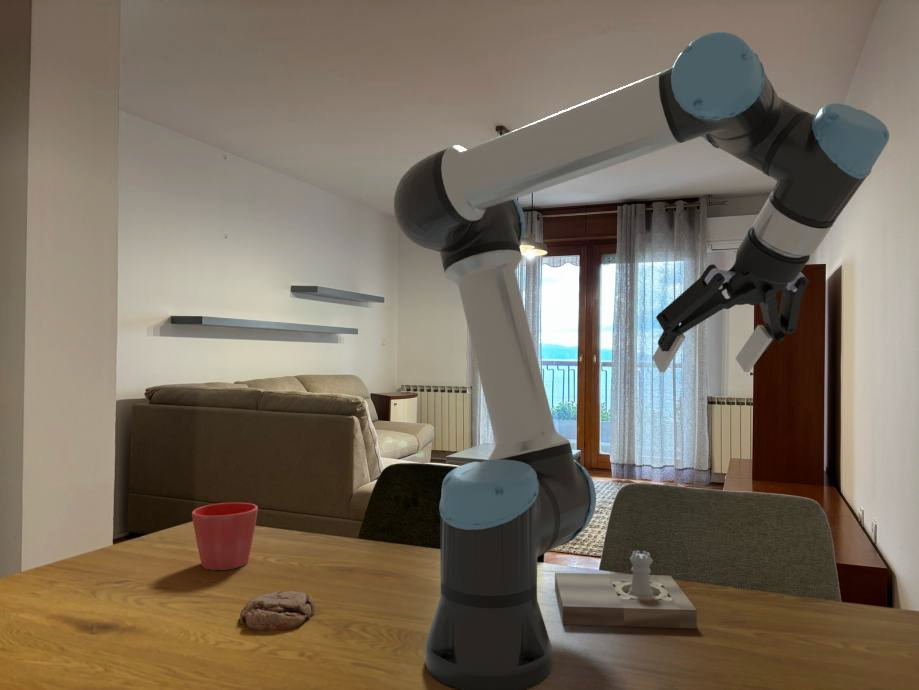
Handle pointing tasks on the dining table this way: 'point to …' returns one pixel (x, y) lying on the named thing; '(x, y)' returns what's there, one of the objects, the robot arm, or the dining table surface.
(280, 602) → the cookie
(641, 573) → the rook chess piece
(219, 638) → the dining table surface
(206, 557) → the flower pot
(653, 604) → the socket board
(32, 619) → the dining table surface
